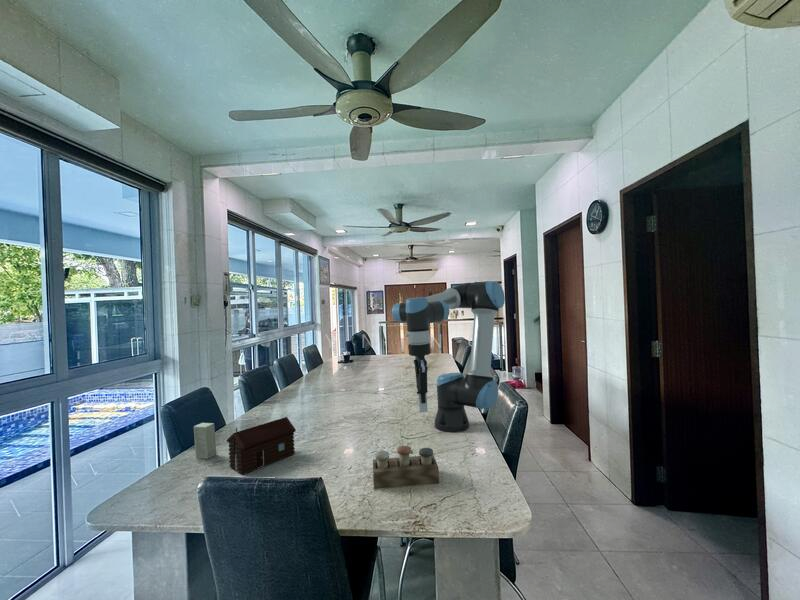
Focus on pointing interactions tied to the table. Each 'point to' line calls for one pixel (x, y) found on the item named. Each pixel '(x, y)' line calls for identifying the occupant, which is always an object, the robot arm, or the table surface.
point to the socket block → (405, 473)
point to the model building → (261, 445)
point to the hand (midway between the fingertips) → (423, 411)
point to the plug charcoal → (426, 455)
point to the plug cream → (382, 459)
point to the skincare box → (204, 440)
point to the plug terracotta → (404, 455)
